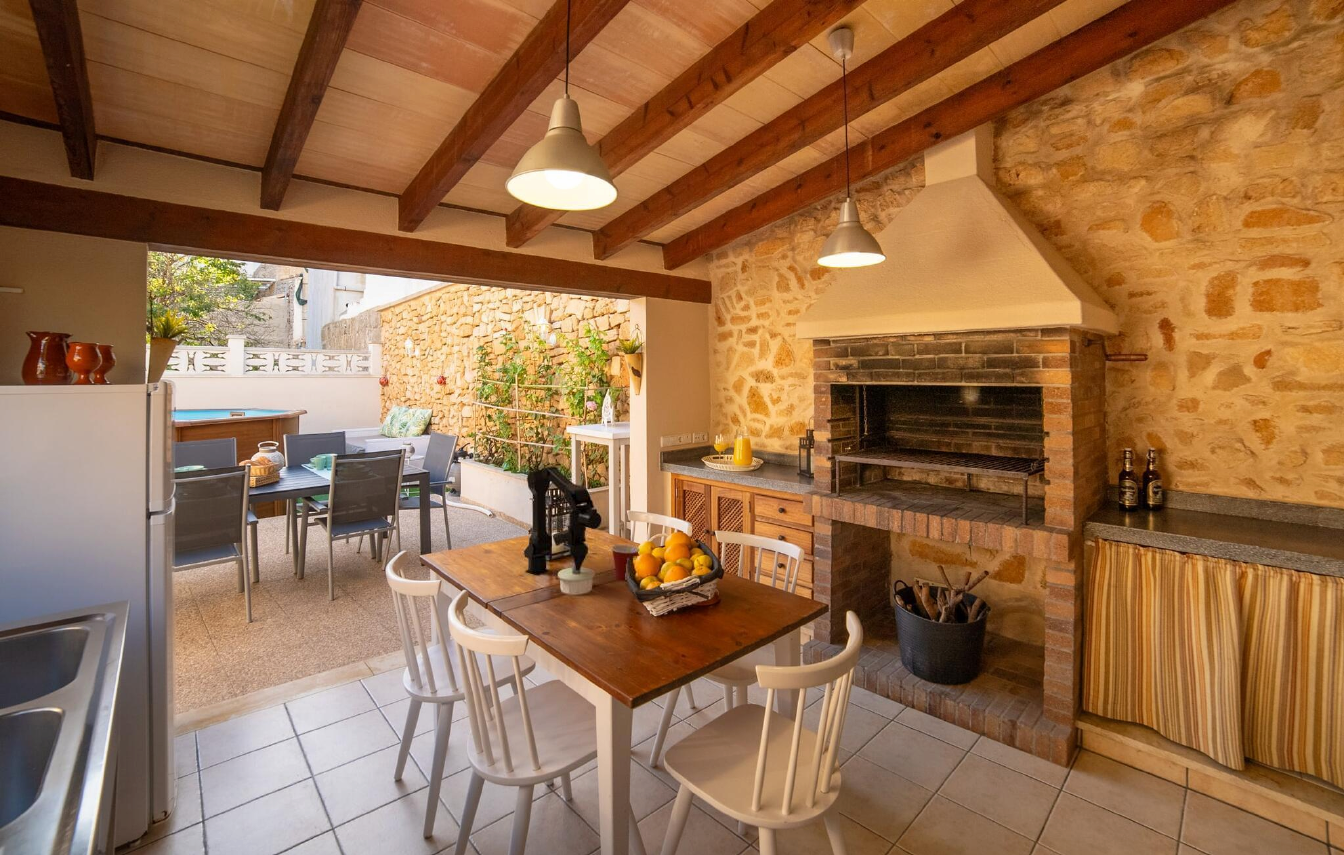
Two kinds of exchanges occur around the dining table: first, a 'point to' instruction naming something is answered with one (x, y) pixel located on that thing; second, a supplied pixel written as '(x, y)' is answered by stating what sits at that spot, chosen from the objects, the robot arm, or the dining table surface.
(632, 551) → the plastic cup
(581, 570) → the lid
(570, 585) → the bowl
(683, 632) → the dining table surface
